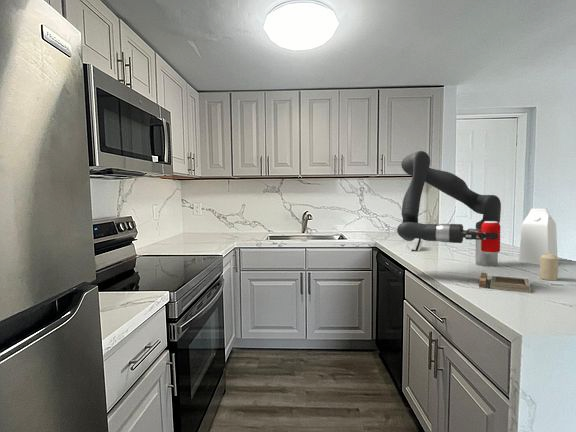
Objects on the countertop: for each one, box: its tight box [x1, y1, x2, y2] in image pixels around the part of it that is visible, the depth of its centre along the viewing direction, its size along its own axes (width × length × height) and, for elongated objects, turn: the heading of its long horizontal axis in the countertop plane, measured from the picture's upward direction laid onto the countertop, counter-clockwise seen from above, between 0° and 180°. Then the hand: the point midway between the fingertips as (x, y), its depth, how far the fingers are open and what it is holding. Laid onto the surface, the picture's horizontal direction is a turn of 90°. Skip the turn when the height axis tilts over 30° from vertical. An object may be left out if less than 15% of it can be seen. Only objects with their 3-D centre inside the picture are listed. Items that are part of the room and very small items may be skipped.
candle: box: [539, 253, 559, 281], centre depth 134 cm, size 6×6×10 cm
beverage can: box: [481, 221, 501, 254], centre depth 129 cm, size 6×6×12 cm
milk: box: [518, 208, 558, 266], centre depth 164 cm, size 12×12×26 cm
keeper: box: [489, 275, 532, 294], centre depth 125 cm, size 12×12×2 cm
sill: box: [478, 272, 488, 289], centre depth 131 cm, size 14×2×2 cm, turn 148°
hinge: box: [406, 238, 424, 252], centre depth 212 cm, size 17×5×10 cm, turn 169°
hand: (498, 235), depth 128 cm, fingers closed on beverage can, 6 cm apart
